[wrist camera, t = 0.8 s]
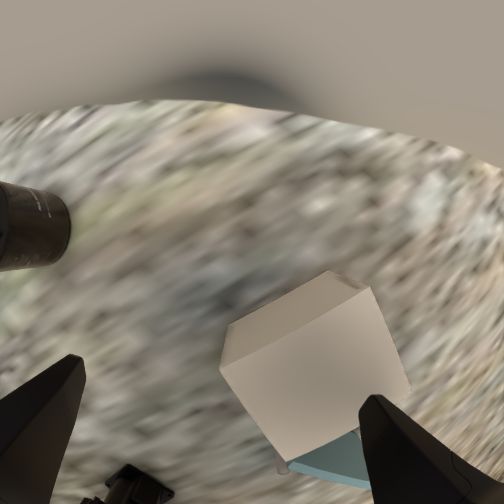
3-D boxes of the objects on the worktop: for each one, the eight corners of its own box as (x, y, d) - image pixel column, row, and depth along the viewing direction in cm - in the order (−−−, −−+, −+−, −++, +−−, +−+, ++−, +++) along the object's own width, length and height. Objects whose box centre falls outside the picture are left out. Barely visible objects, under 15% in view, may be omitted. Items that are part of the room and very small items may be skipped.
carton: (274, 399, 24) (285, 461, 15) (228, 324, 23) (218, 369, 15) (366, 349, 24) (412, 392, 15) (327, 270, 23) (369, 286, 15)
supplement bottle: (77, 194, 23) (-20, 171, 11) (68, 271, 23) (-30, 291, 11) (26, 190, 22) (-63, 172, 10) (18, 259, 23) (-72, 269, 11)
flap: (267, 413, 23) (275, 472, 15) (277, 401, 23) (288, 459, 15) (347, 443, 24) (373, 496, 16) (356, 433, 24) (385, 484, 16)
